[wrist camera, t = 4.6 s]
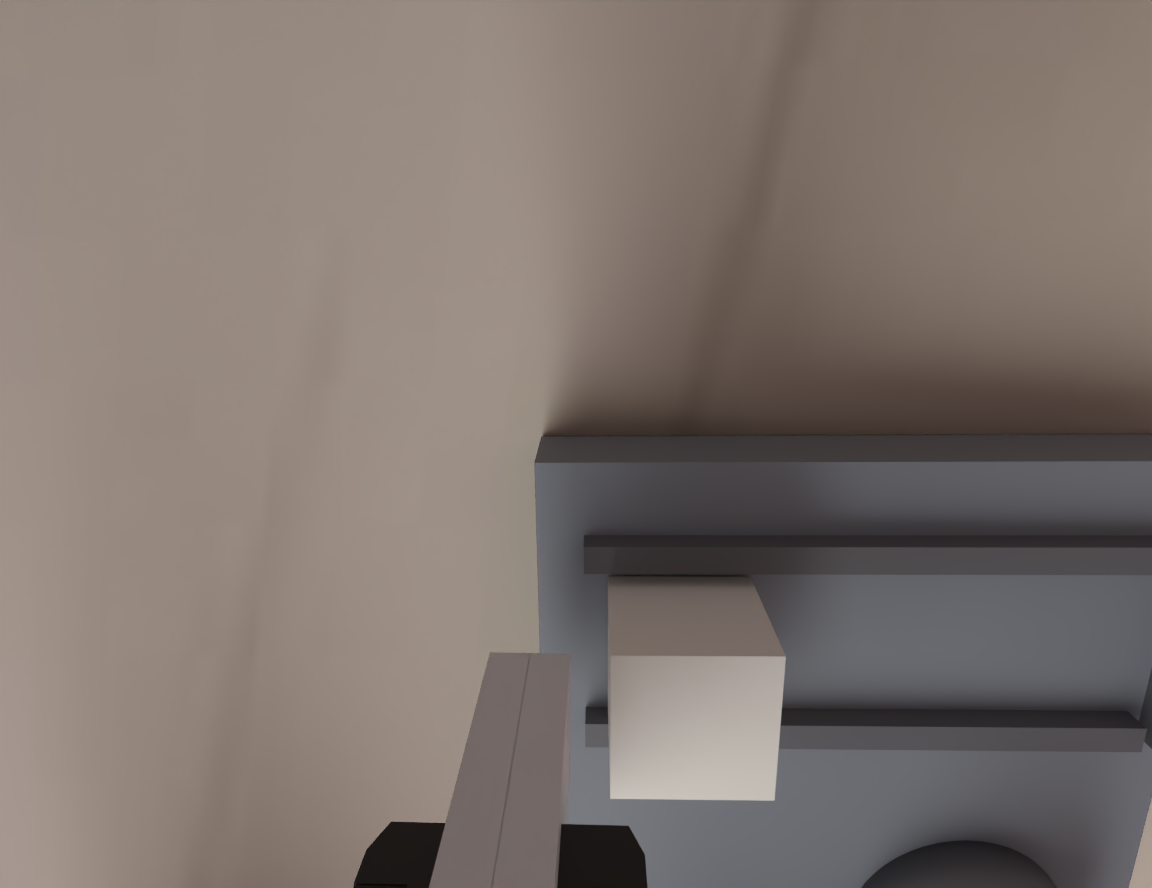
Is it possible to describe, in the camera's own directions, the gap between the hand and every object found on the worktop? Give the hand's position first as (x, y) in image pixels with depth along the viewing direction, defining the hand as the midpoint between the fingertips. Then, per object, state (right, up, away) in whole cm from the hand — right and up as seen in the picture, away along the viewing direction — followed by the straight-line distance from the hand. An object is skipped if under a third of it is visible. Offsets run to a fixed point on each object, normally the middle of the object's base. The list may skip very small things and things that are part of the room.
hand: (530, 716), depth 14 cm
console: (+7, -6, +6) cm, 11 cm away
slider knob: (+3, +1, +2) cm, 4 cm away
